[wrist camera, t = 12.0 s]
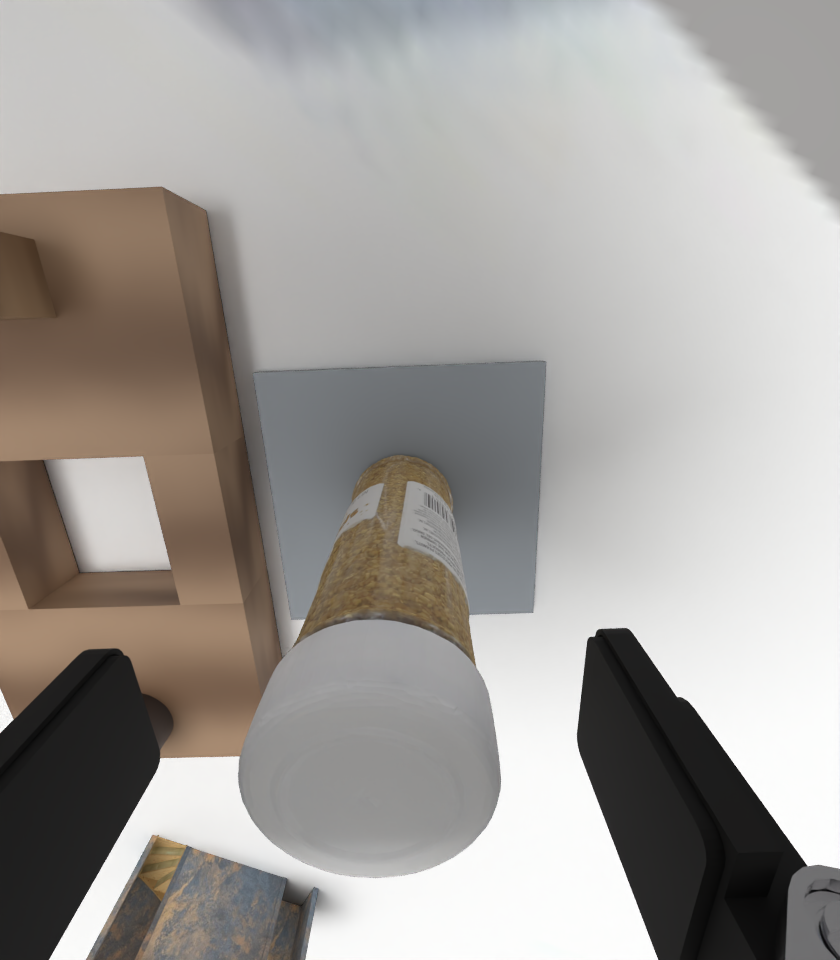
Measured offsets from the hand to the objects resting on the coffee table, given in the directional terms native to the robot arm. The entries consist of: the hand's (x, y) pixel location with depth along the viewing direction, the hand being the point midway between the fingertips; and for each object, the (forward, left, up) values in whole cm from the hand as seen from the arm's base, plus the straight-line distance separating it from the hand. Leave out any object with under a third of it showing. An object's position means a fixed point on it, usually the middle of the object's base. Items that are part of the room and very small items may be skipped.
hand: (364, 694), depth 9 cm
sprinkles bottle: (0, 0, -12) cm, 12 cm away
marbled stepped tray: (+26, -12, -13) cm, 32 cm away
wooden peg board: (0, -13, -12) cm, 17 cm away
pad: (0, 0, -12) cm, 12 cm away
